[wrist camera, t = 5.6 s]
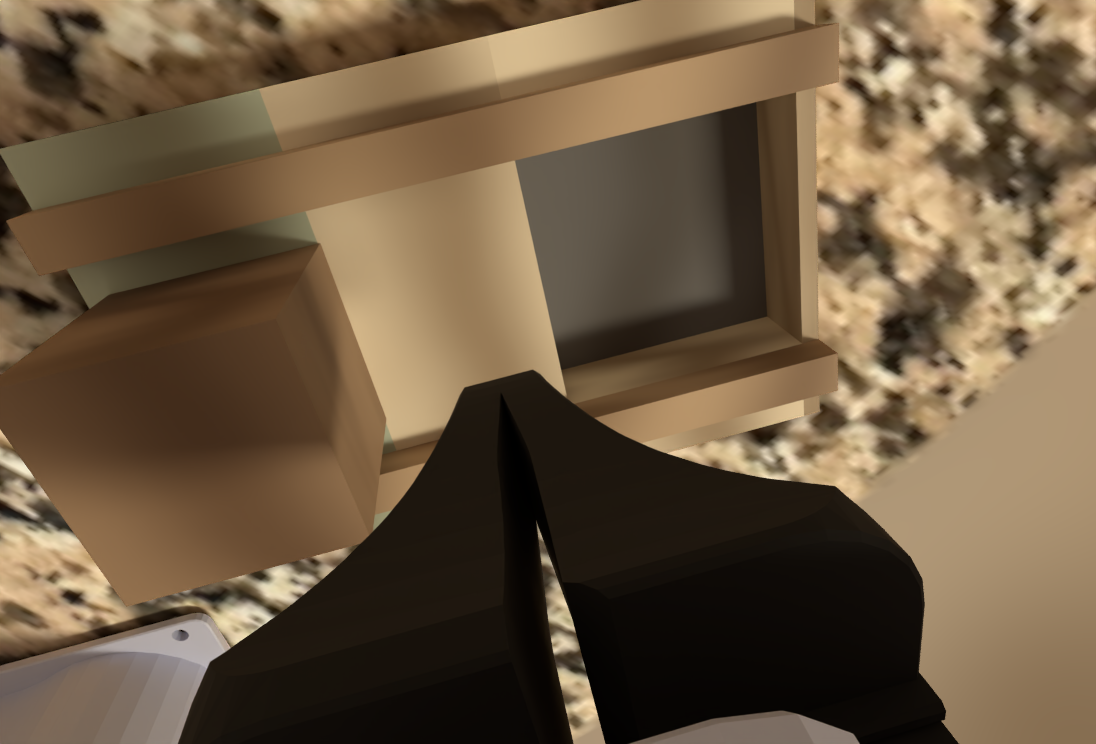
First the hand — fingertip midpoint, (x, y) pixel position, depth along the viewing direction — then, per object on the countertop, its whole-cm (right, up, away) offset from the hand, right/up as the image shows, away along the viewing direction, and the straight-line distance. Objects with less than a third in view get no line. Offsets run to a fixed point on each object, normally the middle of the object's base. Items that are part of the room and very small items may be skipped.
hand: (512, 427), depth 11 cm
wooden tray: (-1, +4, +8) cm, 9 cm away
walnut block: (-7, +1, +5) cm, 8 cm away
